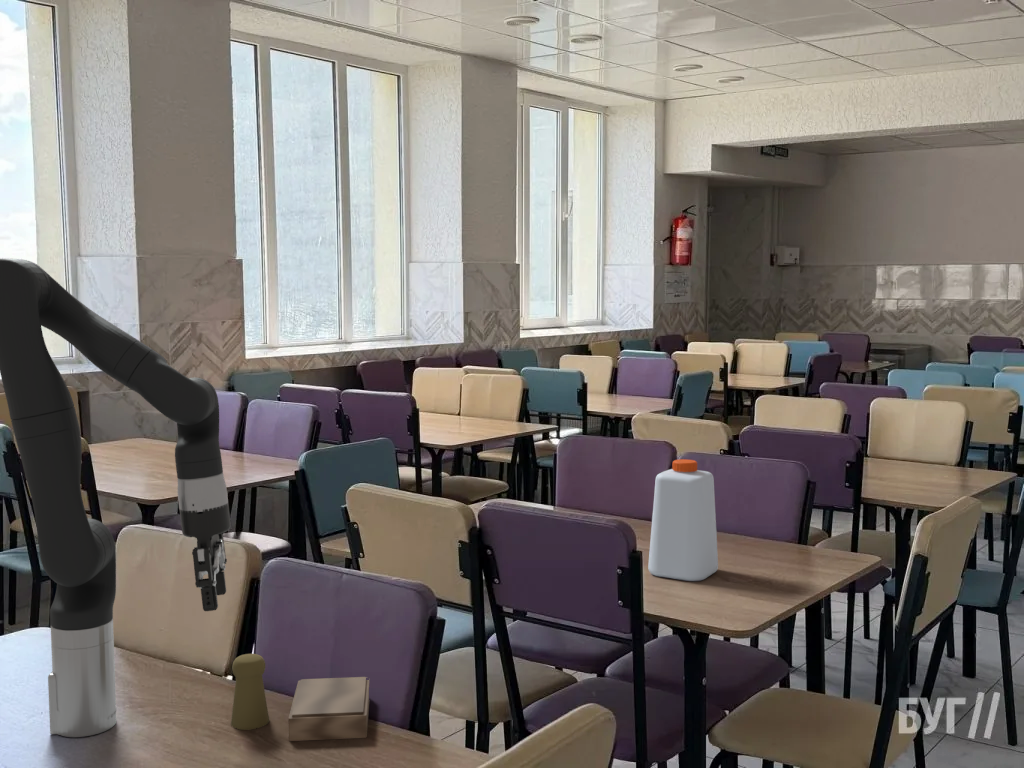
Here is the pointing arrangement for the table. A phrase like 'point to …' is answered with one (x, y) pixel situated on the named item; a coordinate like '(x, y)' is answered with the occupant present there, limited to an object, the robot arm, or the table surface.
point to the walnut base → (329, 709)
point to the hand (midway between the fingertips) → (215, 602)
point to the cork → (249, 693)
